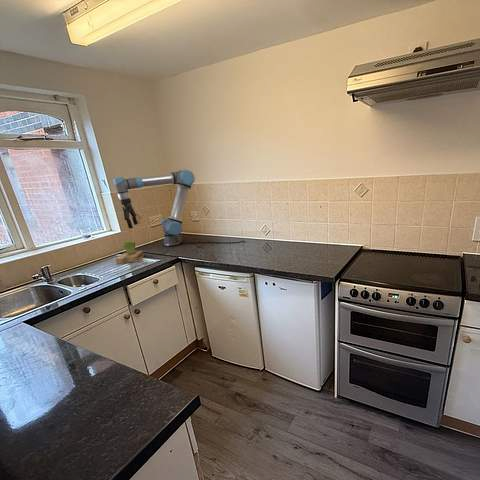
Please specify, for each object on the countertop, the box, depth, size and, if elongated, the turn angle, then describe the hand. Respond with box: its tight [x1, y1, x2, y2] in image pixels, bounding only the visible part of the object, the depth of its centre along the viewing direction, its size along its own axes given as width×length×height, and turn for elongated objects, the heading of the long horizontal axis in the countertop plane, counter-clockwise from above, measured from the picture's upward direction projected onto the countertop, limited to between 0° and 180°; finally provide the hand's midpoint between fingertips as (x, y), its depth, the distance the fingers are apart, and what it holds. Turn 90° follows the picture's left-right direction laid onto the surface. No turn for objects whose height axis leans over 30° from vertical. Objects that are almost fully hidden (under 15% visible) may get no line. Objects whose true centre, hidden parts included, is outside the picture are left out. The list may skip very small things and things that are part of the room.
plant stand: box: [115, 250, 146, 265], centre depth 232 cm, size 16×16×4 cm
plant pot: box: [122, 240, 137, 254], centre depth 233 cm, size 9×9×9 cm
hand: (133, 226), depth 232 cm, fingers open, 13 cm apart
